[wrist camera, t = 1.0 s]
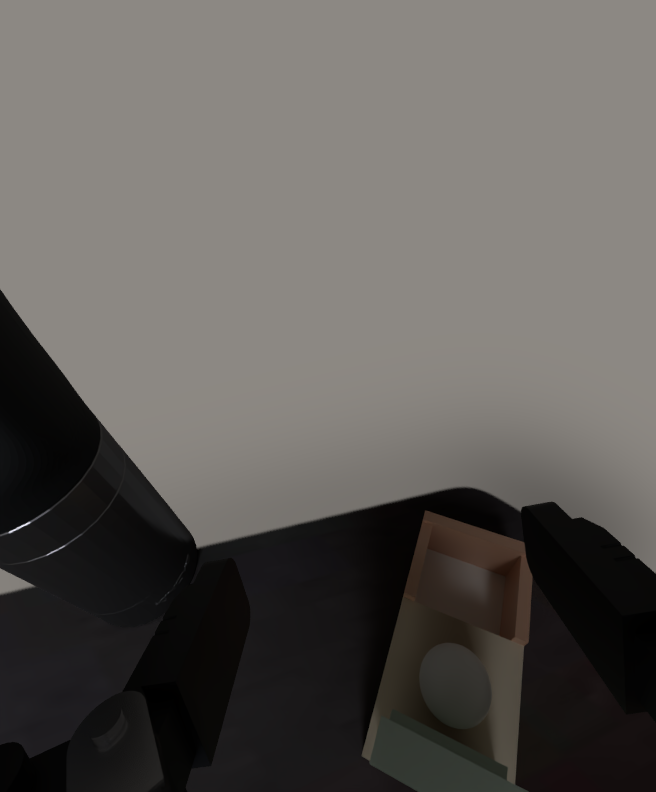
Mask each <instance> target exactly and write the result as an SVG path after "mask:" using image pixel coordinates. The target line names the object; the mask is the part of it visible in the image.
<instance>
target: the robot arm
mask: <svg viewBox="0 0 656 792" xmlns="http://www.w3.org/2000/svg"><path fill="white" fill-rule="evenodd" d="M521 517H522V526H523V535H524V544H525V553H526V559H527V563H528V566H529V569H530V572H531V574H532V576H533V578H534V580H535V581H536V583H537V585H538V586H539V587H540V589H541V590H542V592H543V593H544V595H545V596H546V598H547V599H548V601H549V602H550V604H551V605H552V606H553V608H554V609H555V611H556V612H557V614H558V615H559V617H560V618H561V620H562V621H563V623H564V624H565V626H566V627H567V628H568V630H569V631H570V633H571V634H572V636H573V637H574V639H575V640H576V642H577V643H578V645H579V646H580V647H581V649H582V650H583V652H584V653H585V655H586V656H587V658H588V659H589V661H590V662H591V664H592V665H593V667H594V668H595V669H596V671H597V672H598V674H599V675H600V677H601V678H602V680H603V681H604V683H605V684H606V686H607V687H608V688H609V690H610V691H611V693H612V694H613V696H614V697H615V699H616V700H617V702H618V703H619V705H620V706H621V707H622V709H623V710H624V712H625V713H626V714H633V713H640V712H648V713H649V714H650V716H651V717H652V718H653V720H654V721H655V722H656V574H655V573H654V572H653V571H652V570H651V569H650V568H648V567H647V566H646V565H645V564H644V563H643V562H642V561H640V559H636V558H635V555H634V554H633V553H632V552H630V551H629V550H628V549H627V548H626V547H625V546H622V545H621V543H620V542H619V541H618V540H617V539H616V538H615V537H613V536H612V535H611V534H610V533H609V532H608V531H607V530H605V529H604V528H602V527H601V526H598V525H596V524H594V523H592V522H590V521H588V520H586V519H584V518H582V517H581V518H575V519H571V518H570V517H569V516H568V515H567V514H566V513H565V512H564V511H563V510H562V509H561V508H560V507H559V506H558V505H557V504H556V503H554V502H547V503H542V504H536V505H531V506H525V507H522V510H521ZM196 562H197V549H196V544H195V541H194V538H193V536H192V535H191V533H190V532H189V531H188V529H187V528H186V527H185V526H184V524H183V523H182V522H181V521H180V519H178V517H177V516H176V514H175V513H174V512H173V511H172V509H171V508H170V507H169V506H168V504H167V503H166V502H165V501H164V499H163V498H162V497H161V496H160V495H159V493H158V492H157V491H156V490H155V488H154V487H153V486H152V485H151V483H150V482H149V481H148V480H147V479H146V477H145V476H144V475H143V474H142V472H141V471H140V470H139V469H138V467H137V466H136V465H135V464H134V463H133V461H132V460H131V459H130V458H129V457H128V455H127V454H126V453H125V452H124V450H123V449H122V448H121V447H120V446H119V445H118V443H117V442H116V441H115V440H114V438H113V437H112V436H111V435H110V433H109V432H108V431H107V430H106V429H105V427H104V426H103V425H102V424H101V422H100V421H99V420H98V419H97V418H96V416H95V415H94V414H93V413H92V412H91V410H90V409H89V408H88V407H87V405H86V404H85V403H84V402H83V400H82V399H81V398H80V396H79V395H78V394H77V392H76V391H75V390H74V388H73V387H72V385H71V384H70V383H69V381H68V380H67V378H66V377H65V376H64V374H63V373H62V372H61V370H60V369H59V368H58V366H57V365H56V364H55V362H54V361H53V360H52V359H51V357H50V356H49V355H48V353H47V352H46V351H45V350H44V348H43V347H42V346H41V345H40V343H39V342H38V341H37V340H36V338H35V337H34V336H33V334H32V333H31V332H30V330H29V329H28V327H27V326H26V325H25V323H24V322H23V321H22V319H21V318H20V317H19V315H18V314H17V312H16V311H15V310H14V308H13V307H12V305H11V304H10V303H9V301H8V300H7V299H6V297H5V295H4V294H3V293H2V291H1V290H0V568H1V569H3V570H5V571H7V572H9V573H11V574H13V575H15V576H17V577H19V578H21V579H23V580H25V581H27V582H29V583H31V584H33V585H34V586H36V587H38V588H40V589H42V590H44V591H46V592H48V593H50V594H52V595H54V596H56V597H58V598H60V599H62V600H64V601H66V602H68V603H70V604H72V605H74V606H76V607H78V608H80V609H82V610H84V611H86V612H88V613H90V614H92V615H94V616H96V617H98V618H100V619H102V620H104V621H106V622H108V623H110V624H112V625H115V626H120V627H135V626H139V625H142V624H146V623H148V622H150V621H152V620H154V619H156V618H158V617H160V616H161V615H162V614H164V613H165V612H166V613H165V615H164V617H163V621H161V622H160V624H159V626H158V628H157V630H156V631H155V636H153V637H152V639H151V641H150V642H149V644H148V646H147V648H146V650H145V651H144V653H143V655H142V657H141V659H140V661H139V662H138V664H137V666H136V668H135V670H134V672H133V673H132V675H131V677H130V679H129V681H128V682H127V684H126V686H125V688H124V690H123V692H121V693H119V694H116V695H114V696H112V697H110V698H109V699H107V700H105V701H104V702H103V703H101V704H100V705H99V706H97V707H96V708H95V709H94V710H93V711H92V712H91V713H90V714H89V715H88V716H87V717H86V718H85V719H84V720H83V722H82V723H81V724H80V725H79V727H78V728H77V730H76V731H75V733H74V735H73V736H72V739H71V740H69V741H67V742H65V743H62V744H60V745H58V746H56V747H54V748H52V749H49V750H47V751H45V752H43V753H41V754H39V755H37V756H34V757H32V758H30V759H29V757H28V755H27V754H26V752H25V750H24V748H23V747H22V745H21V744H19V743H15V742H11V743H5V744H2V745H0V792H187V790H186V788H185V787H186V784H187V781H188V777H189V774H190V771H191V768H198V767H206V766H211V764H212V761H213V757H214V753H215V750H216V746H217V742H218V739H219V735H220V731H221V728H222V724H223V721H224V717H225V713H226V710H227V706H228V702H229V699H230V695H231V691H232V688H233V684H234V680H235V677H236V673H237V669H238V666H239V662H240V658H241V655H242V651H243V647H244V644H245V640H246V636H247V633H248V629H249V625H250V606H249V602H248V598H247V595H246V592H245V589H244V586H243V583H242V580H241V577H240V574H239V572H238V569H237V566H236V563H235V561H234V560H233V559H232V558H228V559H222V560H217V561H211V562H206V563H204V564H203V566H202V567H201V569H200V571H199V573H198V575H197V577H196V579H195V581H194V583H193V584H190V585H189V583H190V582H191V580H192V578H193V574H194V571H195V568H196Z"/></svg>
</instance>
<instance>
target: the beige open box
mask: <svg viewBox="0 0 656 792" xmlns="http://www.w3.org/2000/svg"><path fill="white" fill-rule="evenodd" d="M442 643H455V644H459V645H462V646H464V647H466V648H467V649H469V650H470V651H472V652H473V653H474V654H475V655H476V656H477V657H478V658H479V660H480V661H481V662H482V664H483V665H484V667H485V669H486V671H487V673H488V676H489V679H490V682H491V688H492V700H491V706H490V709H489V711H488V714H487V715H486V717H485V718H484V720H483V721H482V722H481V723H479V724H478V725H477V726H475V727H473V728H469V729H456V728H452V727H450V726H447V725H446V724H444V723H442V722H441V721H440V720H438V719H437V718H436V717H435V716H434V715H433V713H432V712H431V711H430V710H429V708H428V707H427V705H426V703H425V701H424V698H423V696H422V693H421V689H420V682H419V673H420V667H421V663H422V661H423V659H424V657H425V655H426V654H427V653H428V651H430V650H431V649H432V648H433V647H435V646H436V645H439V644H442ZM523 652H524V646H523V645H520V644H518V643H515V642H513V641H511V640H508V639H506V638H503V637H501V636H498V635H496V634H493V633H491V632H488V631H486V630H484V629H481V628H479V627H476V626H474V625H471V624H469V623H466V622H464V621H461V620H459V619H456V618H454V617H452V616H449V615H447V614H444V613H442V612H439V611H437V610H434V609H432V608H429V607H427V606H425V605H422V604H420V603H417V602H415V601H412V600H410V599H407V598H405V597H403V599H402V603H401V607H400V611H399V615H398V618H397V622H396V626H395V630H394V634H393V638H392V641H391V645H390V649H389V653H388V657H387V661H386V664H385V668H384V672H383V676H382V680H381V684H380V687H379V691H378V695H377V699H376V703H375V706H374V710H373V714H372V718H371V722H370V726H369V729H368V733H367V737H366V741H365V745H364V749H363V752H362V756H363V757H364V758H366V759H368V760H370V758H371V754H372V750H373V746H374V742H375V738H376V734H377V730H378V726H379V722H380V719H381V715H382V716H384V717H386V718H387V719H390V714H391V711H392V709H394V710H396V711H398V712H400V713H402V714H404V715H406V716H408V717H410V718H412V719H414V720H416V721H418V722H420V723H422V724H424V725H426V726H428V727H430V728H432V729H434V730H436V731H438V732H439V733H441V734H443V735H445V736H447V737H449V738H451V739H453V740H455V741H457V742H459V743H461V744H463V745H465V746H467V747H469V748H471V749H473V750H475V751H477V752H479V753H481V754H483V755H485V756H487V757H489V758H491V759H493V760H495V761H497V762H498V763H500V764H502V765H504V766H506V767H508V771H507V781H509V782H511V783H513V784H515V776H516V760H517V745H518V729H519V714H520V698H521V683H522V667H523Z"/></svg>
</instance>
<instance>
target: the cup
mask: <svg viewBox="0 0 656 792" xmlns="http://www.w3.org/2000/svg"><path fill="white" fill-rule="evenodd" d="M531 591H532V574H531V572H530V569H529V566H528V563H527V559H526V553H525V544H524V542H521V541H518V540H515V539H512V538H509V537H506V536H503V535H500V534H496V533H493V532H490V531H487V530H484V529H481V528H478V527H475V526H472V525H469V524H466V523H463V522H460V521H457V520H454V519H450V518H447V517H444V516H441V515H438V514H435V513H432V512H429V511H426V510H425V514H424V518H423V522H422V526H421V530H420V533H419V537H418V541H417V545H416V549H415V553H414V556H413V560H412V564H411V568H410V572H409V575H408V579H407V583H406V587H405V591H404V595H403V597H405V598H407V599H410V600H412V601H415V602H417V603H420V604H422V605H425V606H427V607H429V608H432V609H434V610H437V611H439V612H442V613H444V614H447V615H449V616H452V617H454V618H456V619H459V620H461V621H464V622H466V623H469V624H471V625H474V626H476V627H479V628H481V629H484V630H486V631H488V632H491V633H493V634H496V635H498V636H501V637H503V638H506V639H508V640H511V641H513V642H515V643H518V644H520V645H523V646H525V645H526V644H527V643H529V626H530V608H531Z"/></svg>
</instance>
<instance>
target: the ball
mask: <svg viewBox="0 0 656 792" xmlns="http://www.w3.org/2000/svg"><path fill="white" fill-rule="evenodd" d="M419 682H420V689H421V693H422V696H423V698H424V701H425V703H426V705H427V707H428V708H429V710H430V711H431V712H432V713H433V715H434V716H435V717H436V718H437V719H438V720H440V721H441V722H442V723H444V724H446V725H447V726H450V727H452V728H456V729H469V728H473V727H475V726H477V725H478V724H479V723H481V722H482V721H483V720H484V718H485V717H486V715H487V714H488V711H489V709H490V706H491V700H492V688H491V682H490V679H489V676H488V673H487V671H486V669H485V667H484V665H483V664H482V662H481V661H480V660H479V658H478V657H477V656H476V655H475V654H474V653H473V652H472V651H470V650H469V649H467V648H466V647H464V646H462V645H459V644H455V643H442V644H439V645H436V646H435V647H433V648H432V649H431V650H430V651H428V653H427V654H426V655H425V657H424V659H423V661H422V663H421V667H420V673H419Z"/></svg>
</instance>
